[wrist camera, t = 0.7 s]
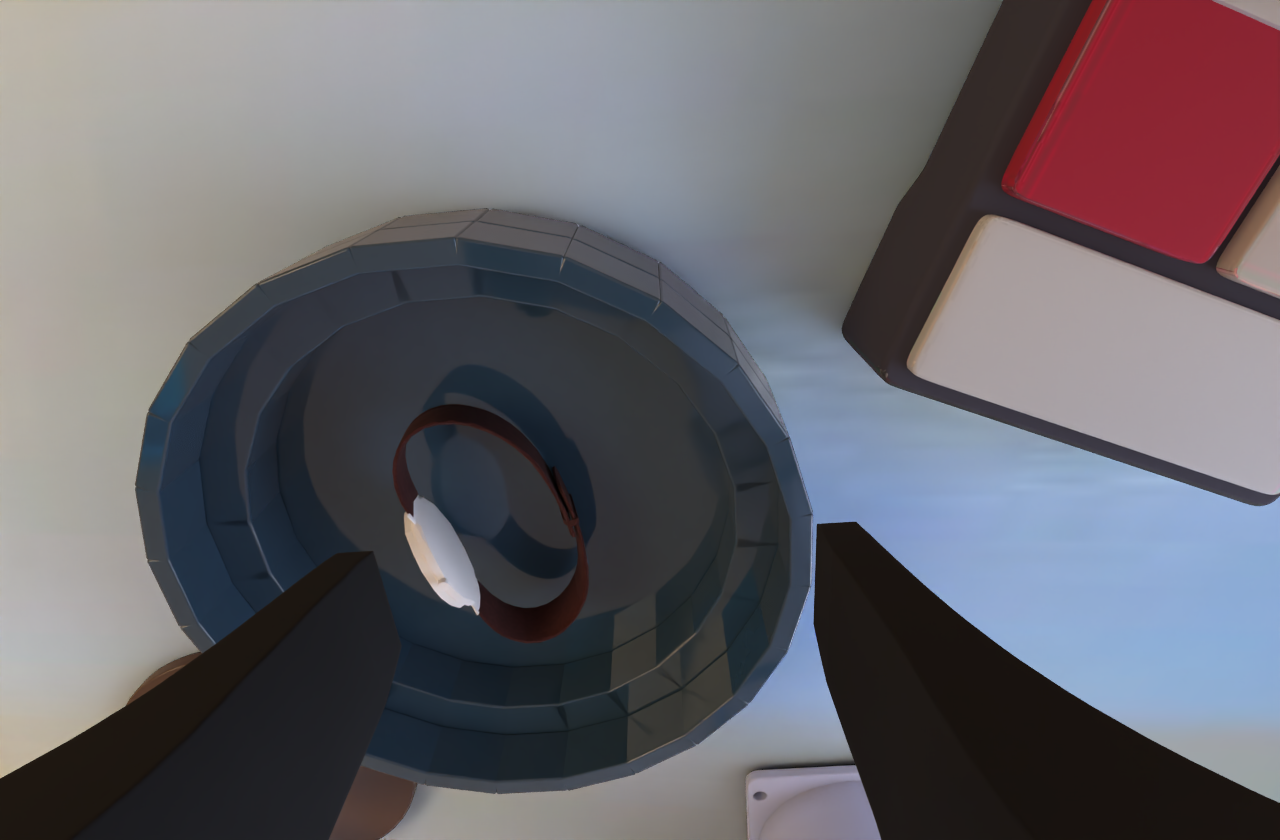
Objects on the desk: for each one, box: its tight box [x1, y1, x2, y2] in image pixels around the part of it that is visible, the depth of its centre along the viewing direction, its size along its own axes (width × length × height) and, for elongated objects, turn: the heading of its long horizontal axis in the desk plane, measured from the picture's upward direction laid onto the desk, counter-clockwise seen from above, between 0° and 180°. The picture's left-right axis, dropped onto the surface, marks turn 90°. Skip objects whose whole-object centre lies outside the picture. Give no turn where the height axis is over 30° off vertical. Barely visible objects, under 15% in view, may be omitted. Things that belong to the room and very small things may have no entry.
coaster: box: [126, 652, 417, 840], centre depth 27 cm, size 11×11×1 cm
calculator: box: [842, 0, 1280, 506], centre depth 15 cm, size 11×4×15 cm
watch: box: [392, 404, 589, 643], centre depth 20 cm, size 8×5×4 cm, turn 25°
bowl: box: [135, 208, 813, 794], centre depth 20 cm, size 17×17×4 cm
